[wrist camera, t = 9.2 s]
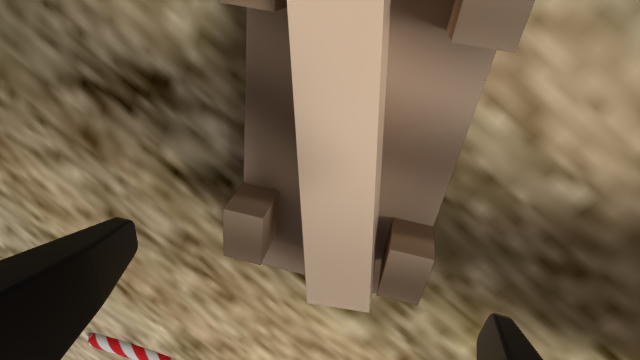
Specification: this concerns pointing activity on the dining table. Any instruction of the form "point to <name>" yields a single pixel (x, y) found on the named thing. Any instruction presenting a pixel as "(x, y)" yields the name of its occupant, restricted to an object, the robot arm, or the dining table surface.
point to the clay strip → (339, 141)
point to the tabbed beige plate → (398, 136)
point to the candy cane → (124, 348)
